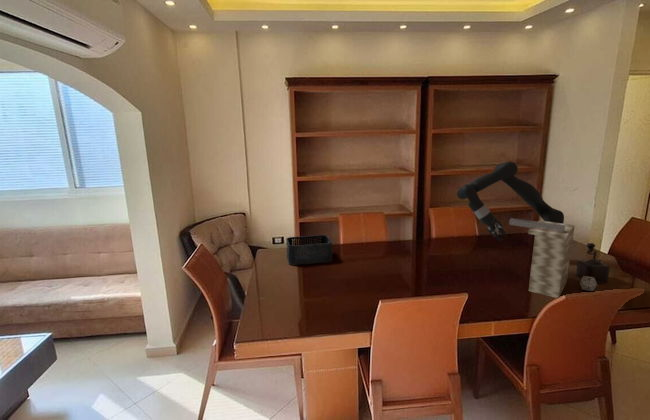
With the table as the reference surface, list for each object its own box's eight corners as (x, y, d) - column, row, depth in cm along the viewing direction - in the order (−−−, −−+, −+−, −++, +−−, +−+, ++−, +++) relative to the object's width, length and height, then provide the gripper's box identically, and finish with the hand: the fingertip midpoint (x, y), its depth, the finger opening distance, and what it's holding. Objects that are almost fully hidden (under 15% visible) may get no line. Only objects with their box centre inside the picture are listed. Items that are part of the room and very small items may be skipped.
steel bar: (509, 224, 184) (509, 219, 183) (510, 223, 186) (511, 218, 185) (563, 232, 168) (564, 226, 167) (564, 231, 170) (565, 225, 170)
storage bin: (327, 252, 244) (326, 234, 241) (333, 262, 226) (333, 242, 223) (286, 256, 238) (285, 237, 235) (289, 266, 220) (288, 246, 217)
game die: (581, 296, 180) (570, 277, 183) (597, 290, 179) (586, 272, 183) (589, 295, 172) (578, 275, 175) (606, 289, 171) (595, 270, 174)
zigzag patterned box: (522, 289, 181) (528, 229, 174) (533, 274, 198) (539, 220, 191) (558, 298, 171) (566, 235, 163) (566, 282, 188) (574, 224, 181)
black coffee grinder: (609, 283, 186) (614, 251, 182) (588, 283, 186) (593, 251, 182) (587, 271, 201) (592, 241, 197) (568, 272, 201) (572, 242, 197)
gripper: (486, 215, 189) (506, 239, 187) (493, 207, 200) (512, 229, 197) (475, 222, 194) (494, 245, 192) (482, 214, 205) (500, 236, 202)
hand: (503, 237), depth 195 cm, fingers open, 8 cm apart
